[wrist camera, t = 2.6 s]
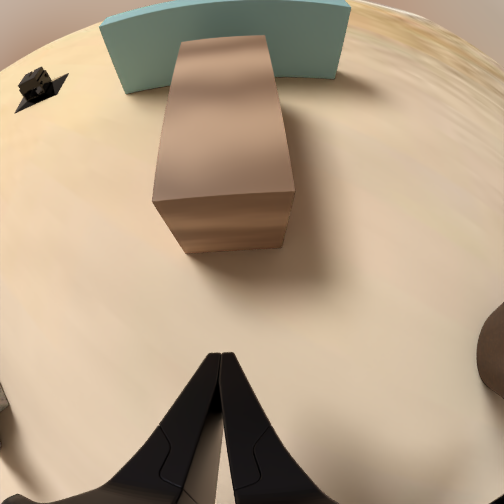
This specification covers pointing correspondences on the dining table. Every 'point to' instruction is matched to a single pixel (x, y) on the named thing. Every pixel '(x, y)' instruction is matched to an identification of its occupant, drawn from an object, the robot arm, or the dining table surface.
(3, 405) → the digital clock
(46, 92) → the black block on plate
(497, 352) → the plant pot
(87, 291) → the dining table surface
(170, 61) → the teal board
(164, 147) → the walnut block
